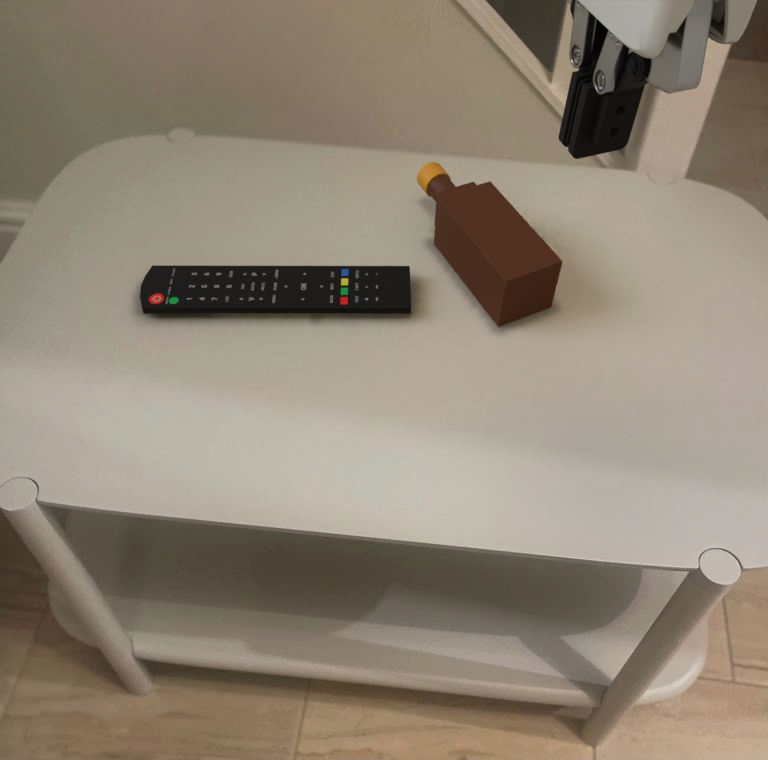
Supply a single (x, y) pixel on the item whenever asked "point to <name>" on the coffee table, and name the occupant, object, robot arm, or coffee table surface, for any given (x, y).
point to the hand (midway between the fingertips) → (591, 144)
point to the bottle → (491, 247)
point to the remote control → (277, 289)
